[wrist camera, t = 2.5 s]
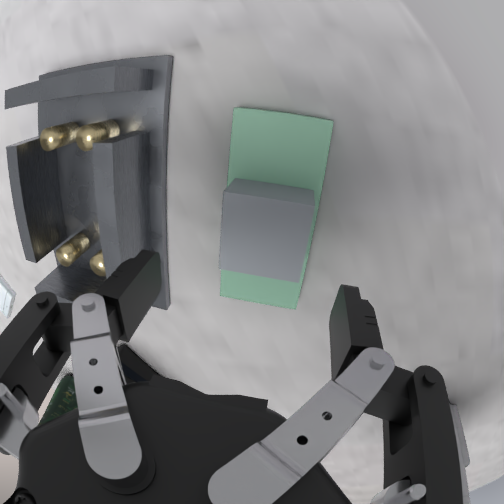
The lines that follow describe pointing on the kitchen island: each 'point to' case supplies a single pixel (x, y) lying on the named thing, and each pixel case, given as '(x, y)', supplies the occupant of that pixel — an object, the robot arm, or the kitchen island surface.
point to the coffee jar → (61, 400)
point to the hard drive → (6, 297)
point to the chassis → (93, 171)
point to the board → (281, 164)
